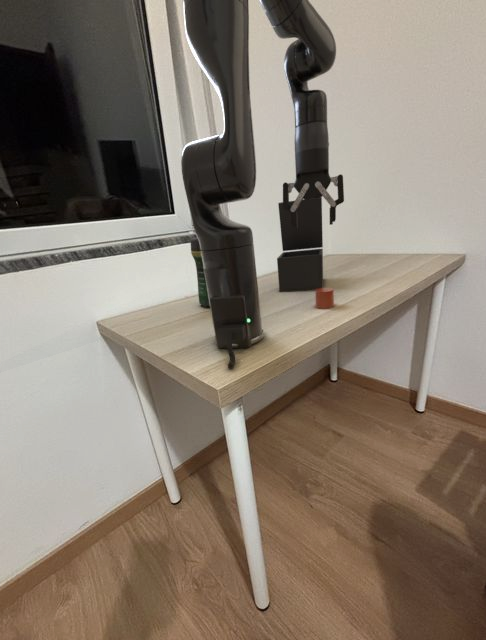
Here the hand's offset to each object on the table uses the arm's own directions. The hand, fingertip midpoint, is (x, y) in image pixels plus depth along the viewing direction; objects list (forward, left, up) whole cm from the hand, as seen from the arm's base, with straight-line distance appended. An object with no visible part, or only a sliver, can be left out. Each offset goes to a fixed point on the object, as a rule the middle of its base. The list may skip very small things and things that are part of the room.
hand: (313, 226), depth 76 cm
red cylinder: (-10, -3, -18) cm, 20 cm away
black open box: (+14, +4, -18) cm, 23 cm away
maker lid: (+19, +4, 0) cm, 19 cm away
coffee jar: (-2, +27, -18) cm, 33 cm away
